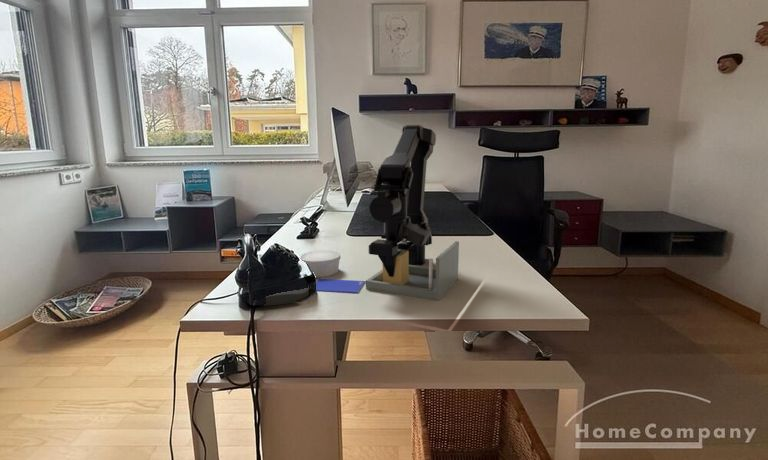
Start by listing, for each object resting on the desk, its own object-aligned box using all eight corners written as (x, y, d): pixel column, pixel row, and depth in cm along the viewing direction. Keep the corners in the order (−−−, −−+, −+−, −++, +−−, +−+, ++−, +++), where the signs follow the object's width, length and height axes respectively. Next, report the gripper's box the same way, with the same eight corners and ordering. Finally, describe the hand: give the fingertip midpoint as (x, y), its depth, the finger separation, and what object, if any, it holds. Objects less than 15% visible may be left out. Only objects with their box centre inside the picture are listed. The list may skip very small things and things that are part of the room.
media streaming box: (246, 310, 96) (244, 297, 95) (247, 287, 109) (246, 276, 109) (311, 302, 99) (310, 290, 99) (304, 281, 113) (304, 271, 112)
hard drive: (365, 280, 110) (319, 278, 112) (357, 291, 102) (308, 289, 104) (365, 286, 110) (319, 283, 112) (358, 297, 102) (309, 295, 104)
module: (391, 277, 112) (390, 247, 110) (408, 280, 110) (408, 249, 108) (382, 283, 108) (382, 252, 106) (400, 286, 106) (400, 254, 104)
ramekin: (293, 272, 119) (292, 254, 118) (326, 264, 126) (326, 247, 125) (313, 283, 111) (312, 264, 110) (348, 273, 118) (348, 255, 117)
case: (392, 271, 119) (392, 234, 117) (457, 280, 111) (458, 241, 109) (366, 290, 105) (365, 249, 103) (438, 302, 97) (439, 258, 95)
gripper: (411, 223, 93) (411, 290, 97) (438, 209, 110) (437, 266, 113) (366, 219, 98) (368, 283, 101) (399, 206, 114) (399, 261, 118)
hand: (395, 273), depth 108 cm, fingers closed on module, 5 cm apart
